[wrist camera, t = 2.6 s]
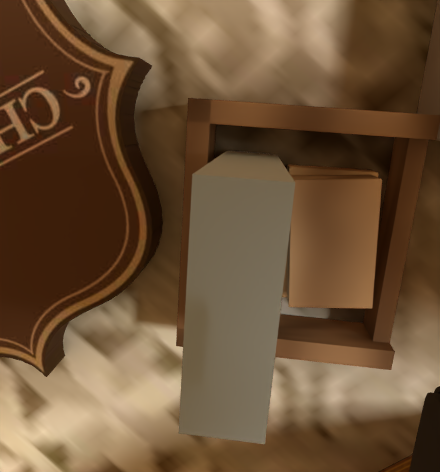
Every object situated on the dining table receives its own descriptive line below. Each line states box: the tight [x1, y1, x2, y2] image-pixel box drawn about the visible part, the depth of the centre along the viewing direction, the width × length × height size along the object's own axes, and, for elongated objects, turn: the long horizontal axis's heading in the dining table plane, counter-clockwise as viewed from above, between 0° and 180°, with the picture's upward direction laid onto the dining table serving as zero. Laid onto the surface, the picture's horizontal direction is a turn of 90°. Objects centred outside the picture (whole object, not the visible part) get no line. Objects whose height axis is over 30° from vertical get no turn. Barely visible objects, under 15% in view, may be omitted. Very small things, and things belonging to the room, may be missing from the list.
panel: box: [179, 150, 295, 444], centre depth 20 cm, size 3×9×14 cm, turn 176°
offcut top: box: [286, 175, 382, 308], centre depth 24 cm, size 5×7×2 cm, turn 1°
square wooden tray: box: [176, 98, 440, 370], centre depth 25 cm, size 13×14×4 cm
